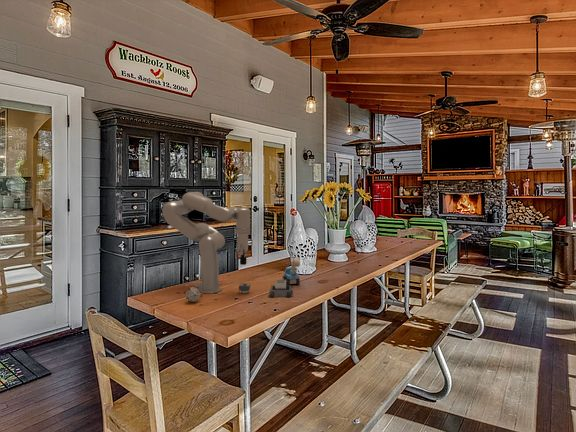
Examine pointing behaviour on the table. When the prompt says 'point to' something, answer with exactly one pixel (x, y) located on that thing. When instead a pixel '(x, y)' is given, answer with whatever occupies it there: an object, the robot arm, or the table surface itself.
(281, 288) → the engine block
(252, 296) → the table surface
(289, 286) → the chassis
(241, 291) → the axle mount
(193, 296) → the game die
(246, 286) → the wheel
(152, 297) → the table surface
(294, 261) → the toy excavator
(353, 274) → the table surface
